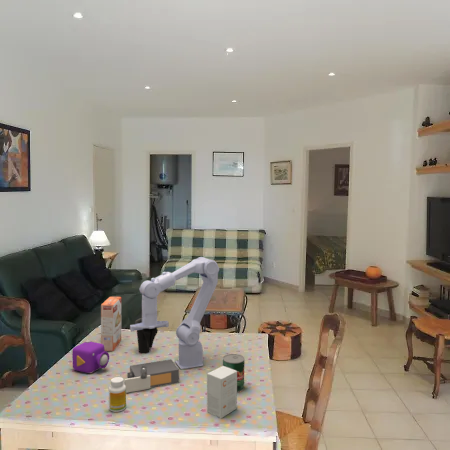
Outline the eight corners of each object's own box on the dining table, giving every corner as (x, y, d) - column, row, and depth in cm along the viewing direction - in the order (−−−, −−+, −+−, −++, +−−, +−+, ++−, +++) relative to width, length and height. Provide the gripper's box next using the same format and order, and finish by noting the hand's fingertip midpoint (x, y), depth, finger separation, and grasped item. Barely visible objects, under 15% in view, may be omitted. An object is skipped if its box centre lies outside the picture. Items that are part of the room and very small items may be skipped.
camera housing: (171, 371, 170) (171, 359, 170) (179, 382, 161) (179, 369, 160) (125, 379, 163) (125, 366, 163) (131, 391, 154) (131, 377, 153)
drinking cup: (156, 350, 191) (156, 305, 189) (144, 356, 185) (144, 310, 183) (144, 346, 195) (143, 303, 193) (131, 352, 189) (131, 307, 187)
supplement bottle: (128, 409, 142) (128, 380, 141) (112, 414, 139) (111, 384, 138) (122, 402, 146) (122, 374, 145) (106, 406, 143) (106, 378, 142)
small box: (222, 402, 147) (222, 365, 146) (237, 408, 143) (237, 370, 142) (206, 411, 141) (206, 373, 140) (221, 418, 137) (221, 379, 135)
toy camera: (101, 376, 165) (101, 351, 164) (69, 373, 168) (68, 347, 167) (114, 365, 176) (114, 341, 175) (83, 361, 178) (83, 338, 177)
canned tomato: (240, 394, 153) (240, 364, 152) (219, 390, 155) (219, 360, 154) (246, 384, 160) (247, 355, 159) (226, 381, 163) (227, 352, 162)
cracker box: (114, 351, 189) (113, 304, 187) (100, 351, 189) (99, 304, 187) (122, 340, 203) (122, 296, 201) (109, 339, 203) (109, 296, 201)
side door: (149, 387, 156) (149, 365, 155) (151, 390, 154) (151, 367, 153) (124, 391, 153) (124, 369, 152) (125, 394, 151) (125, 372, 150)
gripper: (132, 317, 160) (132, 353, 161) (170, 313, 166) (170, 347, 167) (128, 312, 166) (129, 346, 168) (165, 308, 172) (165, 341, 173)
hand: (149, 346), depth 168 cm, fingers closed
